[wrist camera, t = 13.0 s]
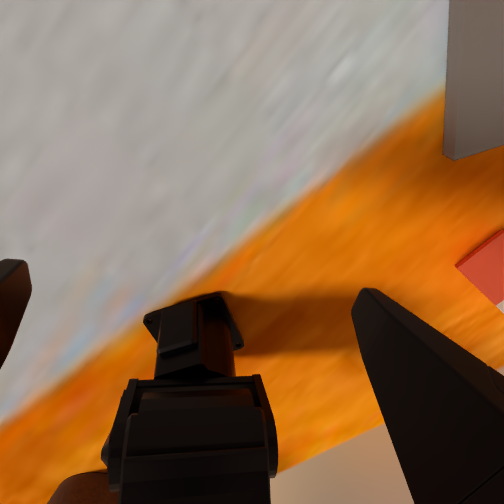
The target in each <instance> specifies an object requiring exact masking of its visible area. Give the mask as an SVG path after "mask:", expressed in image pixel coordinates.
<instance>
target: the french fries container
mask: <svg viewBox="0 0 504 504" xmlns="http://www.w3.org/2000/svg"><path fill="white" fill-rule="evenodd" d="M455 267H456V268H457V269H458V270H459V271H460V272H461V273H462V274H463V275H464V276H465V277H466V278H467V279H468V280H469V281H470V282H472V283H473V284H474V285H475V286H476V287H477V288H478V289H479V290H480V291H481V292H482V293H483V294H484V295H485V296H486V297H487V298H488V299H489V300H490V301H491V302H492V303H493V304H494V305H496V306H497V307H498V308H499V309H500V310H501V311H502V312H503V313H504V230H501V231H498V232H497V233H496V234H495V235H493V236H492V237H491V238H489V239H488V240H487V241H486V242H484V243H483V244H482V245H480V246H479V247H478V248H477V249H475V250H474V251H473V252H471V253H470V254H469V255H468V256H466V257H465V258H464V259H462V260H461V261H460V262H459V263H457V264H456V265H455Z"/></svg>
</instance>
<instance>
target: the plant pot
mask: <svg viewBox="0 0 504 504" xmlns="http://www.w3.org/2000/svg"><path fill="white" fill-rule="evenodd" d="M118 497H119V492H110V490H109V478H108V474H104V473H84V474H79V475H75V476H72V477H69V478H67V479H66V480H64V481H63V482H62V483H61V484H60V485H59V487H58V488H57V489H56V491H55V492H54V494H53V495H52V497H51V498H50V500H49V501H48V503H47V504H118Z"/></svg>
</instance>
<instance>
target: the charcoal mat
mask: <svg viewBox="0 0 504 504" xmlns="http://www.w3.org/2000/svg"><path fill="white" fill-rule="evenodd" d="M502 145H504V0H450V4H449V26H448V49H447V72H446V95H445V117H444V140H443V155H444V156H446V157H448V158H450V159H452V160H453V161H455V160H458V159H461V158H465V157H468V156H471V155H474V154H477V153H480V152H483V151H486V150H489V149H493V148H496V147H499V146H502Z"/></svg>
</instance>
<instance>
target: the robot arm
mask: <svg viewBox="0 0 504 504" xmlns="http://www.w3.org/2000/svg"><path fill="white" fill-rule="evenodd" d="M31 292H32V285H31V280H30V274H29V269H28V264H27V262H26V261H24V260H19V259H4V260H2V261H0V369H1V367H2V365H3V363H4V361H5V359H6V357H7V355H8V353H9V351H10V349H11V346H12V344H13V342H14V339H15V336H16V334H17V331H18V328H19V326H20V323H21V320H22V318H23V315H24V312H25V310H26V307H27V304H28V302H29V299H30V296H31ZM217 298H218V300H214V299H217ZM351 315H352V319H353V324H354V328H355V332H356V336H357V340H358V344H359V348H360V352H361V356H362V359H363V362H364V365H365V368H366V371H367V374H368V377H369V379H370V382H371V385H372V388H373V391H374V393H375V396H376V399H377V402H378V404H379V407H380V410H381V413H382V415H383V418H384V421H385V424H386V426H387V429H388V432H389V435H390V437H391V440H392V443H393V446H394V449H395V451H396V454H397V457H398V460H399V462H400V465H401V468H402V471H403V473H404V476H405V479H406V482H407V484H408V487H409V490H410V493H411V496H412V498H413V501H414V504H504V376H503V375H502V374H500V373H499V372H497V371H496V370H494V369H493V368H491V367H490V366H487V364H486V363H484V362H483V361H481V360H480V359H478V358H477V357H475V356H474V355H472V354H471V353H469V352H468V351H467V350H465V349H464V348H462V347H461V346H459V345H458V344H456V343H455V342H453V341H452V340H451V339H449V338H448V337H446V336H445V335H443V334H442V333H440V332H439V331H437V330H436V329H435V328H433V327H432V326H430V325H429V324H427V323H426V322H424V321H423V320H421V319H420V318H419V317H417V316H416V315H414V314H413V313H411V312H410V311H408V310H407V309H405V308H404V307H402V306H401V305H400V304H398V303H397V302H395V301H394V300H392V299H391V298H389V297H388V296H386V295H385V294H384V293H382V292H381V291H379V290H378V289H375V288H362V289H361V290H360V292H359V294H358V296H357V298H356V300H355V302H354V305H353V307H352V310H351ZM149 319H151V320H149ZM143 323H144V325H145V326H146V328H147V329H148V330H149V332H150V333H151V335H152V336H153V337H154V339H155V340H156V342H157V343H158V344H157V357H156V365H155V373H154V379H153V380H138V379H129V382H128V386H127V389H126V390H124V392H123V395H122V397H121V399H120V404H119V408H118V411H117V414H116V417H115V421H114V424H113V427H112V430H111V432H110V434H109V436H108V438H107V440H106V442H105V444H104V445H103V448H102V451H101V460H102V461H103V462H104V464H105V465H106V466H107V470H108V478H109V490H110V492H119V497H118V504H271V500H270V478H275V476H276V473H277V467H278V443H277V433H276V426H275V421H274V417H273V413H272V410H271V407H270V404H269V401H268V398H267V395H266V391H265V388H264V385H263V382H262V379H261V376H260V374H254V375H252V376H236V373H235V363H234V354H233V351H234V350H238V349H241V348H243V347H244V340H243V338H242V336H241V334H240V331H239V329H238V327H237V325H236V323H235V321H234V319H233V317H232V314H231V312H230V310H229V308H228V306H227V304H226V302H225V299H224V297H223V295H222V294H220V293H213V294H209V295H206V296H203V297H200V298H197V299H193V300H190V301H187V302H184V303H181V304H177V305H174V306H171V307H168V308H165V309H161V310H158V311H155V312H152V313H149V314H146V315H145V316H144V320H143ZM237 343H239V344H237Z"/></svg>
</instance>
